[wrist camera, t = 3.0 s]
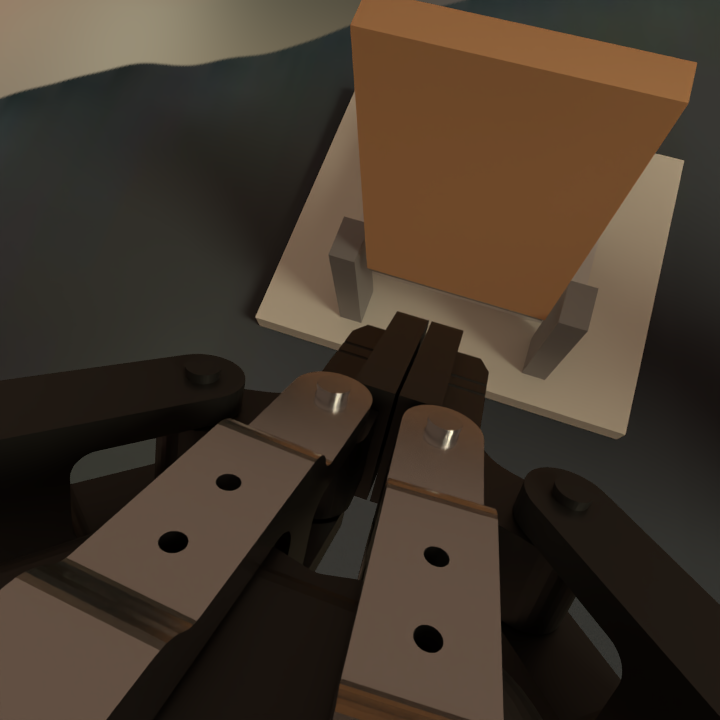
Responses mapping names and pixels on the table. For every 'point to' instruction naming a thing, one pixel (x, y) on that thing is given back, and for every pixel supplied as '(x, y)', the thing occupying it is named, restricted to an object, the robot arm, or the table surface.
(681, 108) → the brown flat panel
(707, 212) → the table surface
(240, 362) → the table surface
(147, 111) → the table surface
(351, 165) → the heatsink board
